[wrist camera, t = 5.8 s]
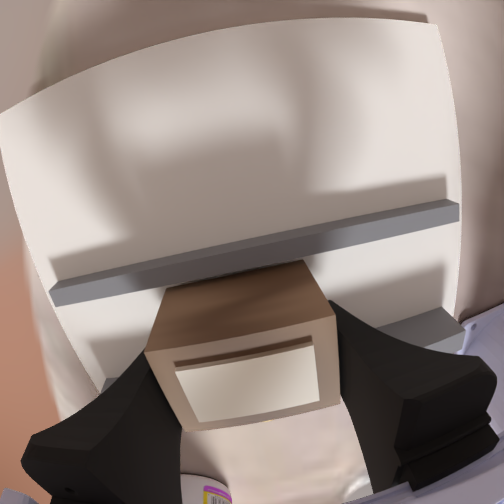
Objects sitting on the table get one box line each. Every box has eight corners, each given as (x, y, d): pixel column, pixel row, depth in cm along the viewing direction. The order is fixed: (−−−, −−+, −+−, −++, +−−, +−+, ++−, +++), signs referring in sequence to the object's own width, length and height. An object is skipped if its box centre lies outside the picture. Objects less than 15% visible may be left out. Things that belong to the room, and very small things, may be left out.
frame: (303, 259, 12) (338, 318, 8) (313, 336, 14) (341, 407, 10) (166, 288, 12) (142, 356, 8) (192, 360, 14) (185, 436, 10)
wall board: (430, 27, 10) (477, 10, 7) (443, 338, 16) (474, 374, 13) (2, 116, 10) (-49, 119, 7) (116, 408, 16) (103, 454, 13)
